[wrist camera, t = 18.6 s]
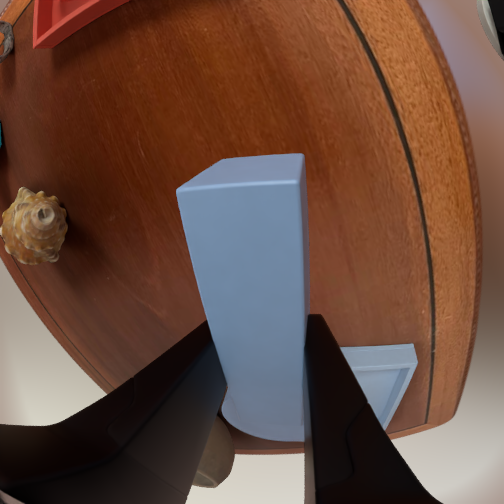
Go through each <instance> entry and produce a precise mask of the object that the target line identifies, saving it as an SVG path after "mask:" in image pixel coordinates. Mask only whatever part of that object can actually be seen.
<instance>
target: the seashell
mask: <svg viewBox="0 0 504 504" xmlns="http://www.w3.org/2000/svg"><path fill="white" fill-rule="evenodd" d="M58 202H59V200H58V198H57V197H55V196H51V197H47V196H46V194H45V193H44V192H43V191H40V192H38V193H37V194H35V193H33V192H31V191H30V190H29V189H27V188H26V187H22V188H20V189H19V192H18V195H17V197H16V199H15V202H14V203H12V205H11V206H10V208H9V209H7V210H6V211H4V213H3V215H2V219H3V225H2V226H1V228H0V235H1V237H3V239H4V241H5V249H6V251H7V252H8V253H9V254H12V255H14V256H15V257H16V258H17V259H18V261H20V262H21V263H23V264H28V263H29V264H31V265H37V264H39V263H41V262H44V261H49V262H50V263H53V262H55V261H57V260H58V258H59V254H58V251H59V250H60V247H61V245H62V243H63V241H64V239H65V234H66V232H67V228H68V225H67V223H66V222H65V218H66V210H65V209H64V208H61V207H60V206H59V204H58Z"/></svg>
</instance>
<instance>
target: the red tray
mask: <svg viewBox="0 0 504 504" xmlns="http://www.w3.org/2000/svg"><path fill="white" fill-rule="evenodd" d="M129 1H131V0H71V1H61V0H35V6H34V22H33V48H34V49H36V48H53V47H55V46H56V45H57V44H59V43H60V42H62V41H63V40H64V39H66V38H67V37H69V36H70V35H72V34H73V33H75V32H76V31H78V30H79V29H81V28H82V27H84V26H85V25H87V24H89V23H90V22H92V21H93V20H95V19H97V18H99V17H100V16H102V15H104V14H106V13H107V12H109V11H111V10H113V9H115V8H117V7H119V6H121V5H122V4H124V3H126V2H129Z"/></svg>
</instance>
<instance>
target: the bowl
mask: <svg viewBox="0 0 504 504" xmlns="http://www.w3.org/2000/svg"><path fill="white" fill-rule="evenodd" d="M234 457H235V453H234V445H233V441H232V437H231V435H230V433H229V430H228V428H227V427H226V425H225V423H224V422H223V421H222V420H221V419H220V418H219V417H218V416H217V415H216V418H215V421H214V424H213V427H212V430H211V433H210V435H209V438H208V441H207V444H206V447H205V450H204V452H203V455H202V458H201V461H200V464H199V467H198V469H197V472H196V475H195V478H194V480H193V483H192V485H195V486H199V487H207V488H215V487H217V486H218V485H219V484H220V483H222V482H223V481H224V480H225V479H226V478H227V477H228V475H229V474H230V472H231V469H232V466H233V462H234Z"/></svg>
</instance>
